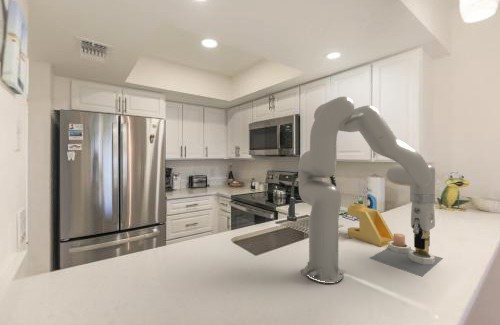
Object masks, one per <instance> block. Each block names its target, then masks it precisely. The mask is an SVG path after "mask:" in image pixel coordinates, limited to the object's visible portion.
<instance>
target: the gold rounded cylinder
mask: <svg viewBox="0 0 500 325" xmlns="http://www.w3.org/2000/svg"><path fill="white" fill-rule="evenodd" d="M419 229H421V228H419ZM421 230H422V229H421ZM419 232H420V233H421V231H419ZM429 236H430V235H429V231H427V232H426V231H424V239H425V249H424V250H422V249H419V248H415V247H414V248H415V249H414V250H415V253H417V254H419V255H423V256H428V255H429V253H430V252H429V251H430V250H429V248H430V246H429Z"/></svg>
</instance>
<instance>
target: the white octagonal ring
mask: <svg viewBox="0 0 500 325" xmlns="http://www.w3.org/2000/svg"><path fill="white" fill-rule="evenodd" d="M435 256H436V255H434V254H432V253H430V252H429V255H428V256H423V255H419V254H417V253H415V249H412V250H411V251H410V252H409V258H410V259H411V260H412V261H414V262H417V263H421V264H429V265H432V264H433V263H435Z"/></svg>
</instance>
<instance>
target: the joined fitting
mask: <svg viewBox="0 0 500 325" xmlns="http://www.w3.org/2000/svg"><path fill="white" fill-rule="evenodd" d="M393 237H394V241H391V242H389V243H388V245H387V248H389V249H390V250H392V251H395V252H398V253H409V252H410V251H411V249H412V246H411V245H409V244H408V243H406V235H405V234H402V233H393Z"/></svg>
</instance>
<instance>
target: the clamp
mask: <svg viewBox="0 0 500 325" xmlns="http://www.w3.org/2000/svg"><path fill="white" fill-rule="evenodd" d="M347 215H348V216H350V217H354V218H358V219H359V224H358V225H359V227H349V228H347V237H348V238H349V237H350V238H349V239H354V238H355V239H358V240H361V241H363V242H366V243H369V244H372V245H374V246H377V247H380V248H382V247H386V246H387V247H388V243H389V242H391V241H394V234H393V233H392V231H391V230H390V228H389V226H388V225H387V223H386V221H385V220H384V217H383V216H382V214H381V212H380V210H377V209H374V208H371V207H366V204H362V203H351V204H350V205H349V206H347Z"/></svg>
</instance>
